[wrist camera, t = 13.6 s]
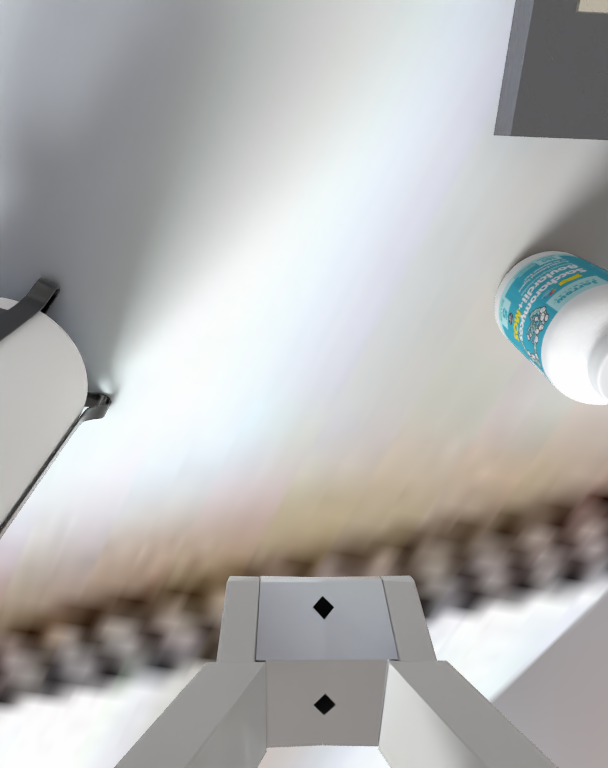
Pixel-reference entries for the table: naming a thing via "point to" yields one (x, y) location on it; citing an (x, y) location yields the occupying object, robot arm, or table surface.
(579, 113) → the panel
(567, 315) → the pill bottle
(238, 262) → the table surface
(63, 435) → the coffee press
